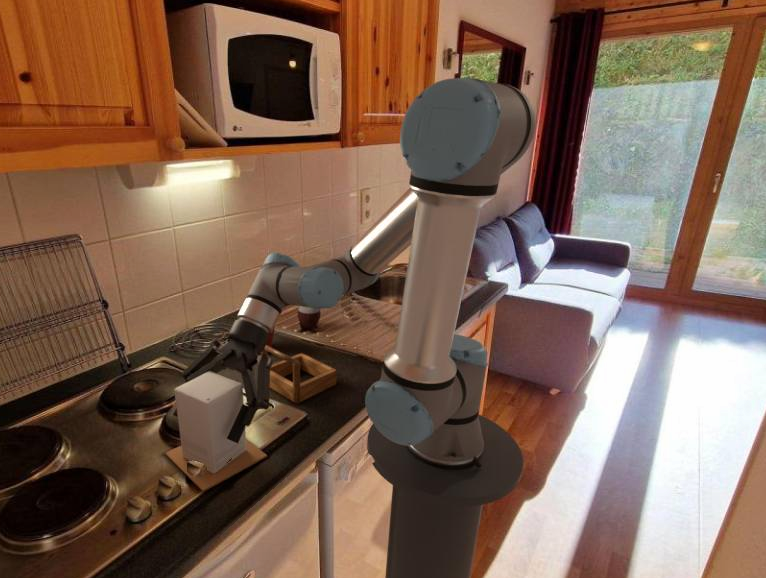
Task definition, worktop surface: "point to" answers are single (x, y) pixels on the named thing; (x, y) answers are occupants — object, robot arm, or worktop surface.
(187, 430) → the rectangular carton
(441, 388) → the robot arm
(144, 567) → the worktop surface
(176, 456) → the mat
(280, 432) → the worktop surface
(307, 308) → the mate gourd
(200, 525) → the worktop surface
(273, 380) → the open wooden box
